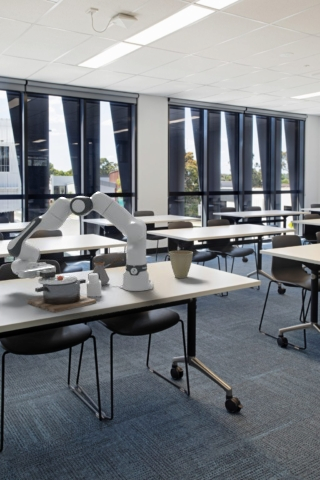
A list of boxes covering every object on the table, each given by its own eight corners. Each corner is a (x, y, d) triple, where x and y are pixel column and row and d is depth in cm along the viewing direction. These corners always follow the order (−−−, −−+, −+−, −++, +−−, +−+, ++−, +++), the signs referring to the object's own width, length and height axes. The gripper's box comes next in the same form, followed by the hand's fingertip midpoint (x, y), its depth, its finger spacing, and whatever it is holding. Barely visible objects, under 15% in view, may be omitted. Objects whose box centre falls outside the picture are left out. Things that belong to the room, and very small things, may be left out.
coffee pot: (94, 287, 261) (93, 261, 259) (86, 283, 271) (86, 258, 269) (127, 283, 272) (127, 258, 270) (119, 279, 282) (119, 255, 280)
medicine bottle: (88, 293, 247) (87, 271, 246) (101, 293, 248) (101, 271, 246) (87, 296, 240) (86, 274, 238) (100, 296, 241) (100, 274, 239)
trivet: (27, 303, 228) (27, 300, 228) (68, 294, 245) (68, 291, 245) (55, 312, 211) (54, 309, 211) (96, 302, 228) (96, 299, 228)
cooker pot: (27, 302, 224) (26, 284, 223) (74, 292, 244) (73, 275, 243) (47, 309, 212) (46, 290, 211) (95, 297, 232) (95, 280, 231)
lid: (28, 280, 230) (28, 273, 230) (60, 274, 244) (60, 268, 243) (52, 287, 215) (52, 280, 215) (85, 280, 229) (84, 274, 228)
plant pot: (193, 279, 281) (193, 254, 279) (169, 279, 282) (169, 254, 280) (192, 274, 296) (192, 250, 294) (169, 274, 296) (169, 250, 294)
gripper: (12, 267, 238) (26, 270, 229) (47, 261, 253) (61, 265, 244) (13, 278, 239) (27, 282, 230) (47, 273, 254) (61, 276, 244)
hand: (45, 273), depth 237 cm, fingers closed, pressing on lid
